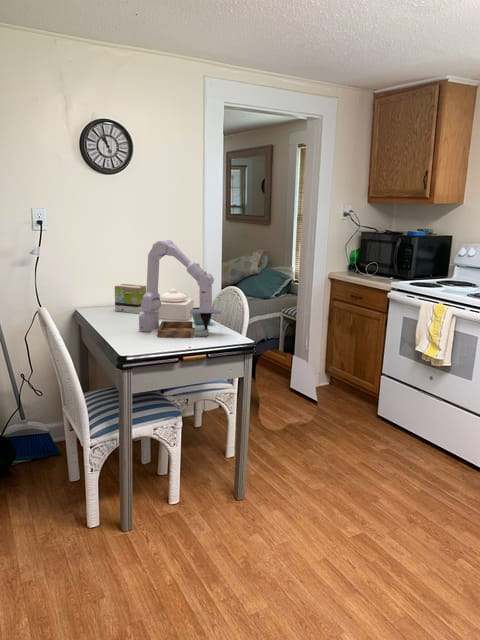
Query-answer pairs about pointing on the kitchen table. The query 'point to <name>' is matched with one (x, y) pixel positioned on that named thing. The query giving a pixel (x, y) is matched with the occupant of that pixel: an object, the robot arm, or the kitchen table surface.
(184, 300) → the white lidded container
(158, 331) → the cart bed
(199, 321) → the flower pot
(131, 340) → the kitchen table surface
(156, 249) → the robot arm
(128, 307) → the tea box
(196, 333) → the panel
